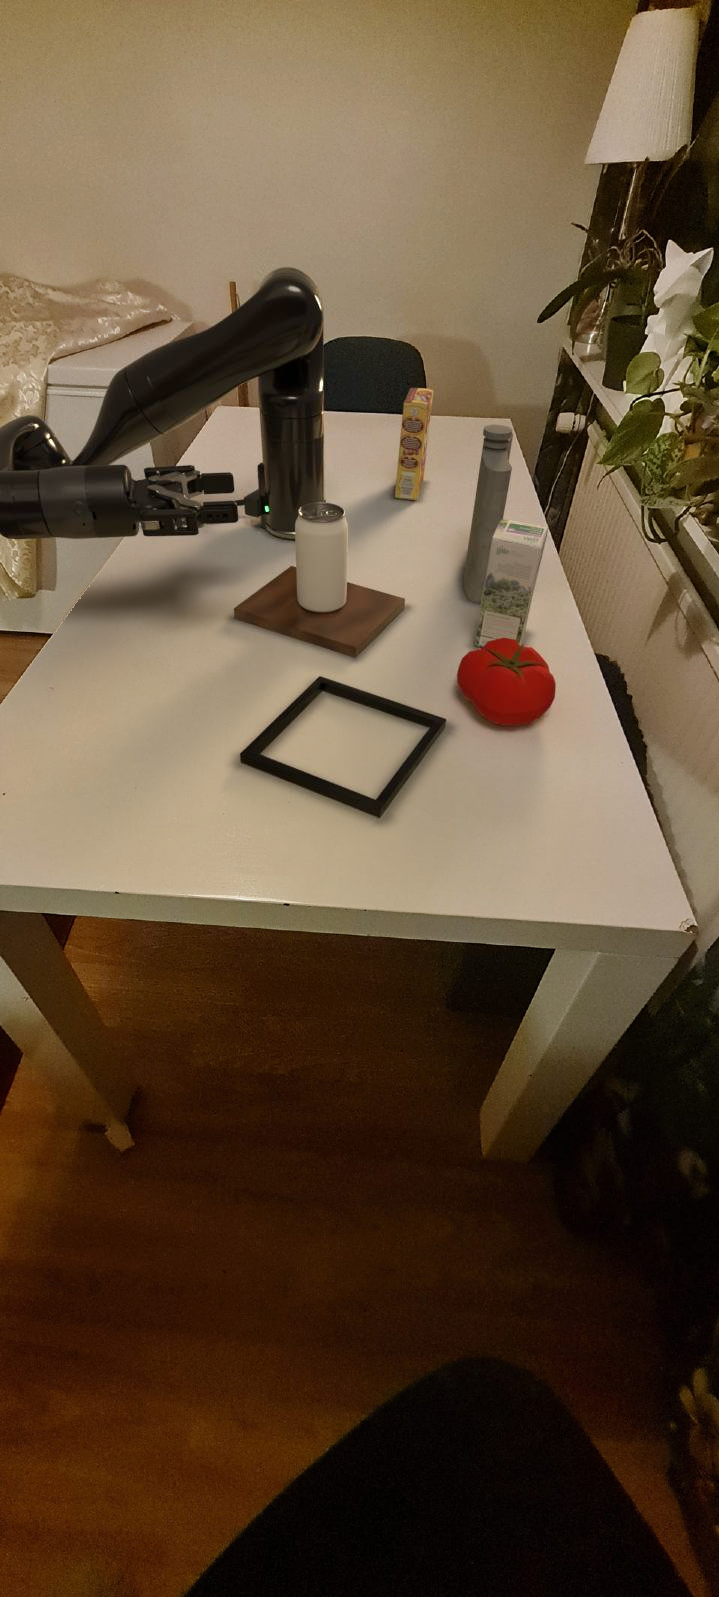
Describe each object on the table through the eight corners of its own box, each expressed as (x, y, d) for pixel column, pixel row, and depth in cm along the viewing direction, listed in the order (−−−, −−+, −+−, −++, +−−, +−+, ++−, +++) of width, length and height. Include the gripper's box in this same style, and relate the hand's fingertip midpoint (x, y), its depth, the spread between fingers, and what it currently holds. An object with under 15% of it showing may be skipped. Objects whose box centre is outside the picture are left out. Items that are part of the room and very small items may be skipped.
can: (296, 590, 95) (293, 500, 87) (344, 589, 96) (346, 500, 87) (297, 615, 91) (295, 522, 82) (348, 614, 91) (350, 522, 83)
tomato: (489, 743, 76) (500, 694, 71) (441, 687, 83) (448, 639, 78) (565, 723, 79) (580, 674, 74) (512, 671, 86) (522, 623, 81)
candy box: (418, 501, 122) (427, 403, 111) (394, 498, 123) (400, 401, 112) (425, 482, 128) (434, 388, 118) (401, 480, 129) (408, 386, 118)
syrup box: (525, 633, 92) (550, 523, 82) (517, 657, 88) (542, 544, 78) (482, 624, 93) (501, 515, 83) (472, 647, 89) (491, 535, 79)
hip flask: (488, 604, 97) (515, 450, 83) (459, 600, 98) (481, 447, 84) (492, 553, 109) (516, 410, 95) (465, 550, 109) (486, 407, 95)
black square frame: (240, 762, 72) (239, 753, 71) (319, 683, 83) (319, 675, 82) (379, 818, 67) (380, 809, 66) (445, 727, 77) (446, 718, 77)
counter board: (234, 618, 92) (233, 608, 91) (291, 575, 101) (291, 565, 100) (355, 657, 87) (355, 647, 86) (404, 608, 96) (405, 598, 95)
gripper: (103, 510, 87) (236, 504, 89) (92, 563, 77) (242, 555, 79) (88, 445, 82) (230, 441, 84) (74, 493, 72) (235, 486, 74)
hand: (235, 496), depth 82 cm, fingers open, 8 cm apart
